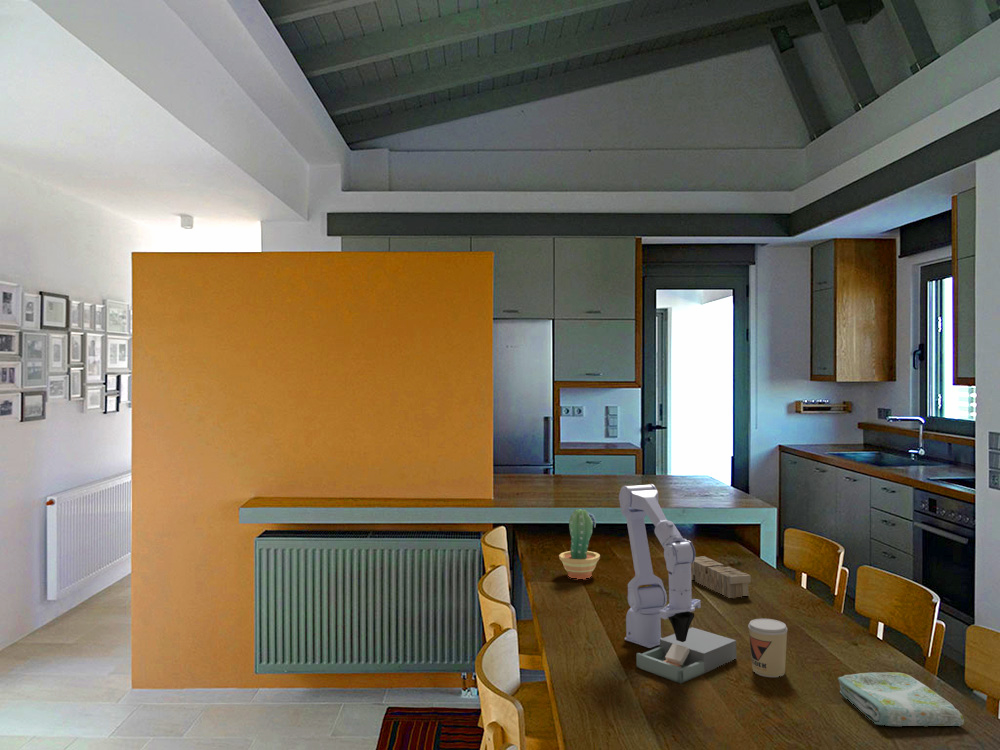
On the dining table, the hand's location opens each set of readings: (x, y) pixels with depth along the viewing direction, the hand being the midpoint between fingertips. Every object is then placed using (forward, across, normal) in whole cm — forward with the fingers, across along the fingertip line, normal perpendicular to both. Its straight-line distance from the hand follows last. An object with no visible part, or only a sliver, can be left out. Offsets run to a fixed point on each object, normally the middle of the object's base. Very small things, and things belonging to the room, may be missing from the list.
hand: (681, 640), depth 197 cm
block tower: (+7, +67, +36) cm, 76 cm away
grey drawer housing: (+6, +7, 0) cm, 9 cm away
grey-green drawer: (+6, -5, 0) cm, 8 cm away
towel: (+7, +15, -47) cm, 50 cm away
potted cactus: (+7, +42, +79) cm, 90 cm away
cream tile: (+3, -2, -1) cm, 4 cm away
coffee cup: (+7, +13, -17) cm, 22 cm away
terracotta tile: (+4, -6, 0) cm, 7 cm away
